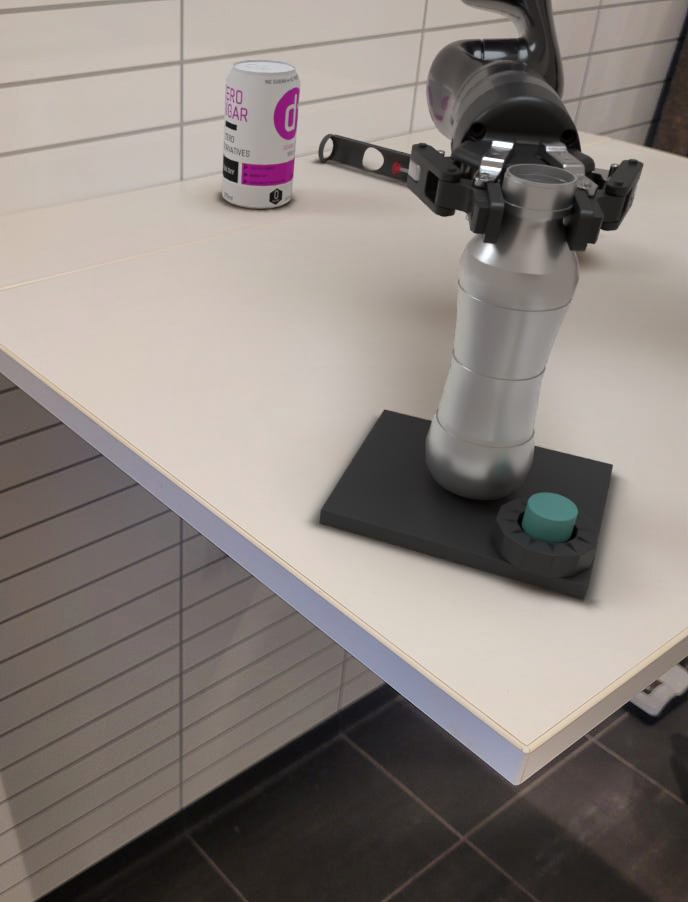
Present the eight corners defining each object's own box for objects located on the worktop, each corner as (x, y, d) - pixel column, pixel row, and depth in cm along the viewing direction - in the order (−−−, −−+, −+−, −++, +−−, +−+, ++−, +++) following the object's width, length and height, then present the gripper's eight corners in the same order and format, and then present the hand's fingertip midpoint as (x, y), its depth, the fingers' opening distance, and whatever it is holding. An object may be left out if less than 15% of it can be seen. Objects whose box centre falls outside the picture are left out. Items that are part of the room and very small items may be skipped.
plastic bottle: (492, 527, 57) (575, 203, 46) (399, 481, 61) (454, 171, 50) (541, 484, 61) (629, 176, 50) (451, 444, 65) (513, 148, 53)
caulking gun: (362, 135, 128) (316, 131, 122) (619, 202, 107) (581, 202, 100) (355, 164, 130) (310, 163, 123) (607, 237, 109) (569, 239, 102)
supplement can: (303, 199, 113) (314, 65, 104) (268, 218, 107) (277, 77, 98) (245, 186, 116) (251, 55, 108) (208, 203, 110) (212, 66, 102)
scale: (607, 481, 64) (619, 444, 63) (581, 608, 54) (595, 567, 52) (381, 425, 70) (387, 389, 68) (316, 530, 59) (321, 491, 57)
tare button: (573, 523, 56) (581, 499, 55) (567, 550, 54) (575, 525, 53) (525, 510, 57) (532, 487, 56) (517, 536, 55) (524, 512, 54)
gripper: (411, 73, 61) (410, 144, 47) (638, 88, 59) (707, 167, 45) (394, 188, 65) (389, 284, 52) (606, 205, 64) (660, 310, 50)
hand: (538, 229), depth 49 cm, fingers closed on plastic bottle, 4 cm apart
